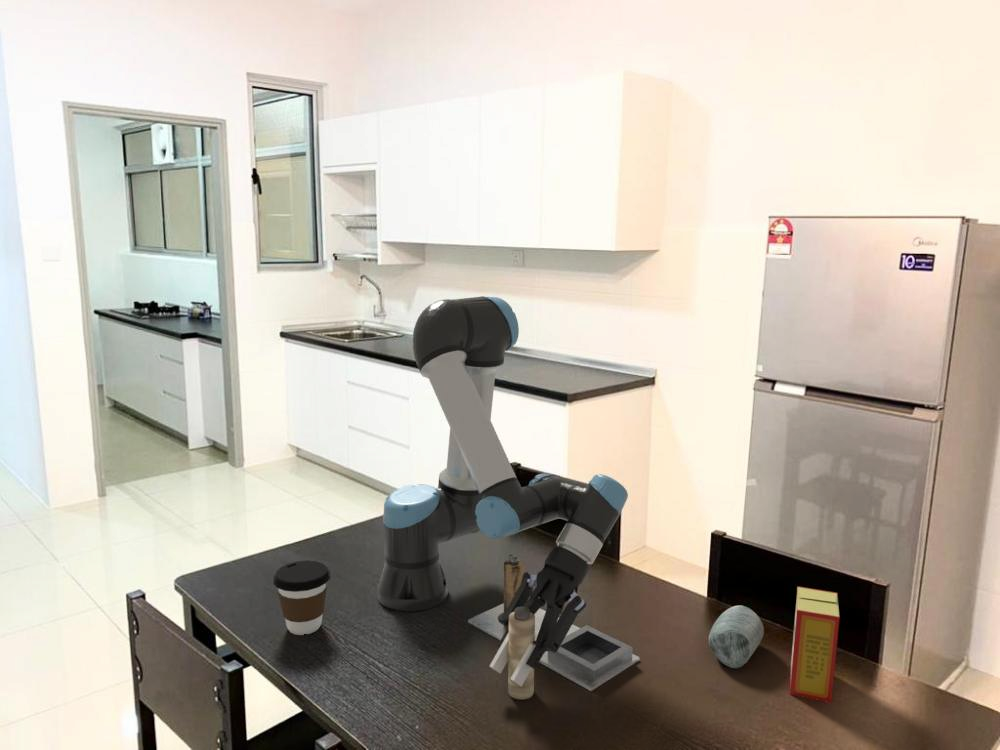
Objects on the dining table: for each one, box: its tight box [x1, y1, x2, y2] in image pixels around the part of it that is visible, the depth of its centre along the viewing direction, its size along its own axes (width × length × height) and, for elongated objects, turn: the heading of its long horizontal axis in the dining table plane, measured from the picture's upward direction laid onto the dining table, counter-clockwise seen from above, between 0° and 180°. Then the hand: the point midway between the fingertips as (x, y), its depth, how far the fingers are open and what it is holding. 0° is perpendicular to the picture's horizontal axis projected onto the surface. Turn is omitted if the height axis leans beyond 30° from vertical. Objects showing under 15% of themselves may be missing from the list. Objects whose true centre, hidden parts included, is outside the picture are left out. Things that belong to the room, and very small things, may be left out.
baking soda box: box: [789, 586, 840, 703], centre depth 132 cm, size 10×6×16 cm
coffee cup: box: [272, 560, 331, 636], centre depth 151 cm, size 11×11×12 cm
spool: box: [708, 605, 765, 669], centre depth 142 cm, size 14×10×10 cm
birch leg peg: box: [507, 607, 535, 701], centre depth 129 cm, size 4×4×15 cm
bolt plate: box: [467, 553, 640, 692], centre depth 146 cm, size 32×14×14 cm, turn 44°
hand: (505, 676), depth 127 cm, fingers closed on birch leg peg, 4 cm apart
